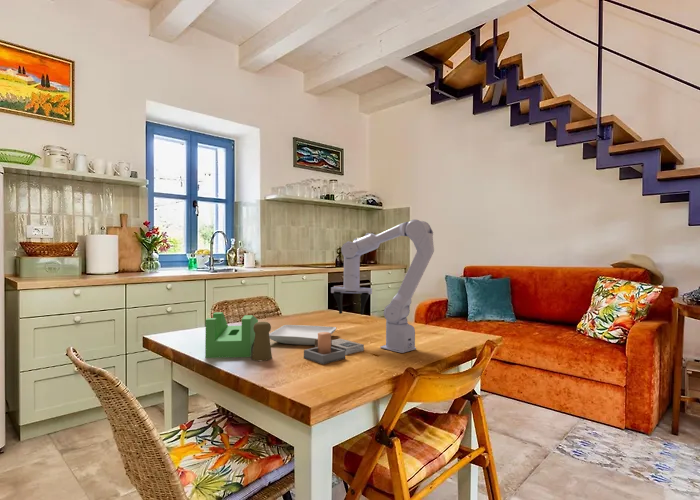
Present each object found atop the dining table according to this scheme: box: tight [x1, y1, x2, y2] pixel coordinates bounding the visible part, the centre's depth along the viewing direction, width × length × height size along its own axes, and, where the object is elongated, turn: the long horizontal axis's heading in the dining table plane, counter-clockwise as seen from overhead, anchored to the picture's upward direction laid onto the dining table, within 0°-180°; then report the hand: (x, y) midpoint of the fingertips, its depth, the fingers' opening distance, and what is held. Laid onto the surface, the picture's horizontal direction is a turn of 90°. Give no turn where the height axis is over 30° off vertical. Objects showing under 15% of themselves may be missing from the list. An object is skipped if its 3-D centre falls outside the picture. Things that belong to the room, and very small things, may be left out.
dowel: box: [318, 332, 332, 355], centre depth 123 cm, size 4×4×7 cm
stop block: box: [314, 339, 333, 348], centre depth 132 cm, size 5×3×4 cm, turn 44°
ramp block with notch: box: [204, 311, 259, 359], centre depth 135 cm, size 24×13×12 cm, turn 7°
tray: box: [303, 346, 346, 365], centre depth 123 cm, size 9×9×2 cm
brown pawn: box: [251, 321, 273, 362], centre depth 122 cm, size 6×6×11 cm
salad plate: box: [269, 324, 337, 346], centre depth 147 cm, size 21×21×3 cm
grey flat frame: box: [331, 338, 365, 356], centre depth 134 cm, size 12×8×2 cm
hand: (351, 313), depth 143 cm, fingers open, 7 cm apart
